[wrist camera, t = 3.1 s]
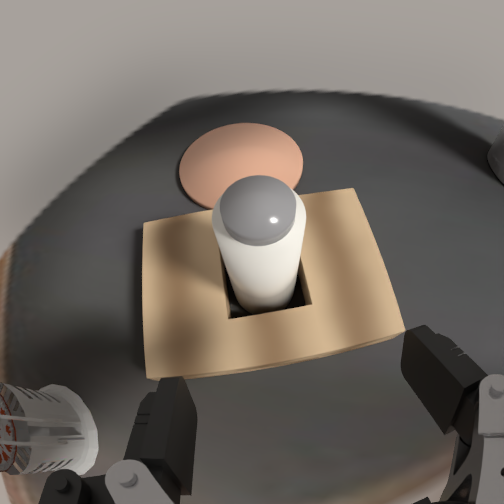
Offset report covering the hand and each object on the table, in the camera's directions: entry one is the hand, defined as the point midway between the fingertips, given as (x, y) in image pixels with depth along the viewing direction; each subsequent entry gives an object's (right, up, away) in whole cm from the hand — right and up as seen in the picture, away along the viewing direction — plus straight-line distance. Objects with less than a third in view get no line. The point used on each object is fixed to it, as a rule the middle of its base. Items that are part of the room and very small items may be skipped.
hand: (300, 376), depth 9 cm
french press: (-19, -13, +11) cm, 26 cm away
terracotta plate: (-3, +14, +24) cm, 28 cm away
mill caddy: (-1, +1, +16) cm, 17 cm away
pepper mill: (-1, +1, +16) cm, 17 cm away
